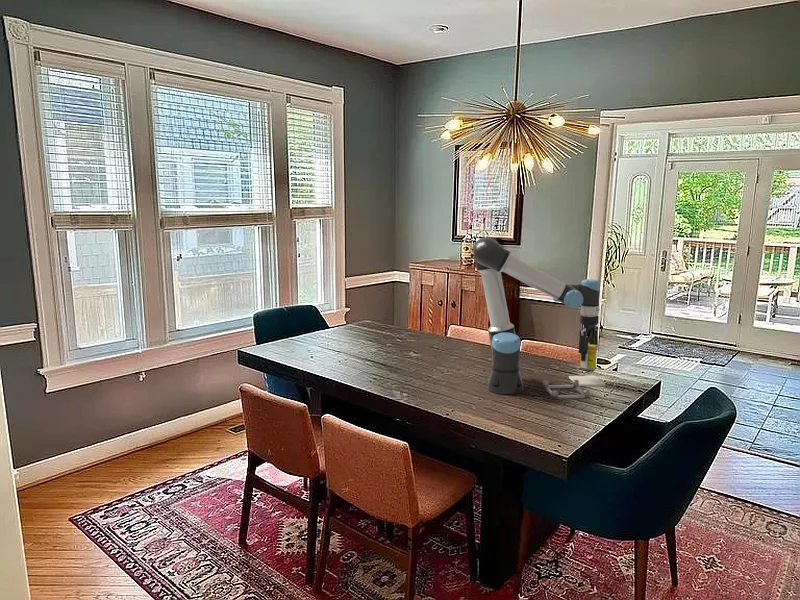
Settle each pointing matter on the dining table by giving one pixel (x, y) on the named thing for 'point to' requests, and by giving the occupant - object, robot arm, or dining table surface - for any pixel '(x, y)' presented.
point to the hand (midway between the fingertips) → (587, 366)
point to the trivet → (588, 380)
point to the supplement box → (590, 358)
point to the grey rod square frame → (575, 385)
